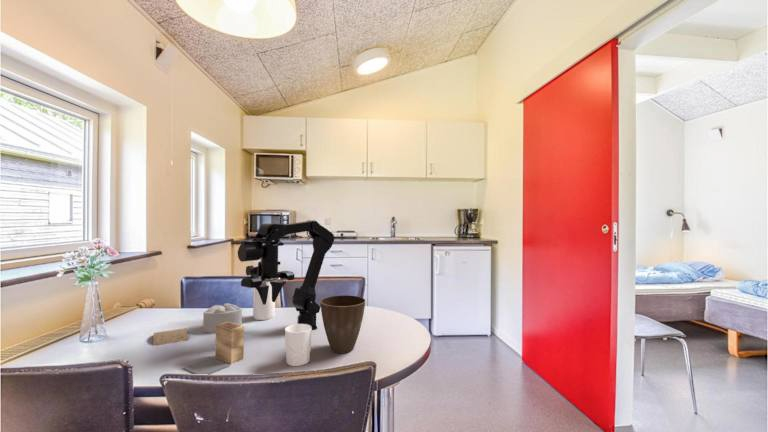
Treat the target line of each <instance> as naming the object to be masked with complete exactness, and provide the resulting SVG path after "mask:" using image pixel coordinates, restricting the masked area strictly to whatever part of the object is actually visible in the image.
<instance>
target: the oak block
mask: <svg viewBox="0 0 768 432" xmlns="http://www.w3.org/2000/svg"><path fill="white" fill-rule="evenodd" d="M244 345H245V326H244V325H242V326H241V325H238V324H234V323H231V322H226V323H222V324H219V325H216V332H215V359H217V358H218V359H217V360H219V361H222V360H223V361H222V362H224V361H225V362H224V363H227V362H228V363H227V364H229V363H230V364H229V365H232V363H233V364H235V362H236V363H239V362H240V361H243V360H244V355H245V354H244V350H245V349H244V348H245V347H244Z"/></svg>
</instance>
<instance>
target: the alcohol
mask: <svg viewBox="0 0 768 432" xmlns="http://www.w3.org/2000/svg"><path fill="white" fill-rule="evenodd" d="M259 262H261V258H260V259H259ZM260 278H261V277H260ZM266 285H268V286H269V289H268V296H267V302H266V304H265V305H264V304H263V303H262V300H261V298H260V295H259V293H258V291H257V289H256V288H253V301H252V303H253V306H252V307H253V309H252V313H253V314H252V316H253V319H254V320H257V321H268V320H272V319H273V318H274V317H275V315H276V301H275V302H272V286H271V284H270V281H269V282H266Z"/></svg>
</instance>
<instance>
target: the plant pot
mask: <svg viewBox="0 0 768 432" xmlns="http://www.w3.org/2000/svg"><path fill="white" fill-rule="evenodd" d="M365 307H366V299H365V298H364V297H361V296H359V295H358V296H357V295H349V294H346V295H345V294H344V295H341V294H340V295H331V296H326V297H324V298H322V299H320V310H321V311H320V312H321V316H322V317H321V318H322V322H323V328H324V331H325V335H326V338H327V341H328V345H329V348H330V350H331V351H332V352H334V353H336V354H345V353H350V352H352V351H353V350H354V349H355V346H356V343H357V340H358V338H359V335H360V331H361V328H362V327H361V326H362V323H363V319H364V318H363V317H364V313H365Z"/></svg>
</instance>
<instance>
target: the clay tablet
mask: <svg viewBox="0 0 768 432" xmlns="http://www.w3.org/2000/svg"><path fill="white" fill-rule="evenodd" d="M152 335H153V337H152V338H153V346H154V347H157V346H163V345H169V344H175V343H181V342H187V341H188V340H189V338H188V331H187V328H186V327H184V328H179V329H172V330H164V331H157V332H153V334H152Z"/></svg>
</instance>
